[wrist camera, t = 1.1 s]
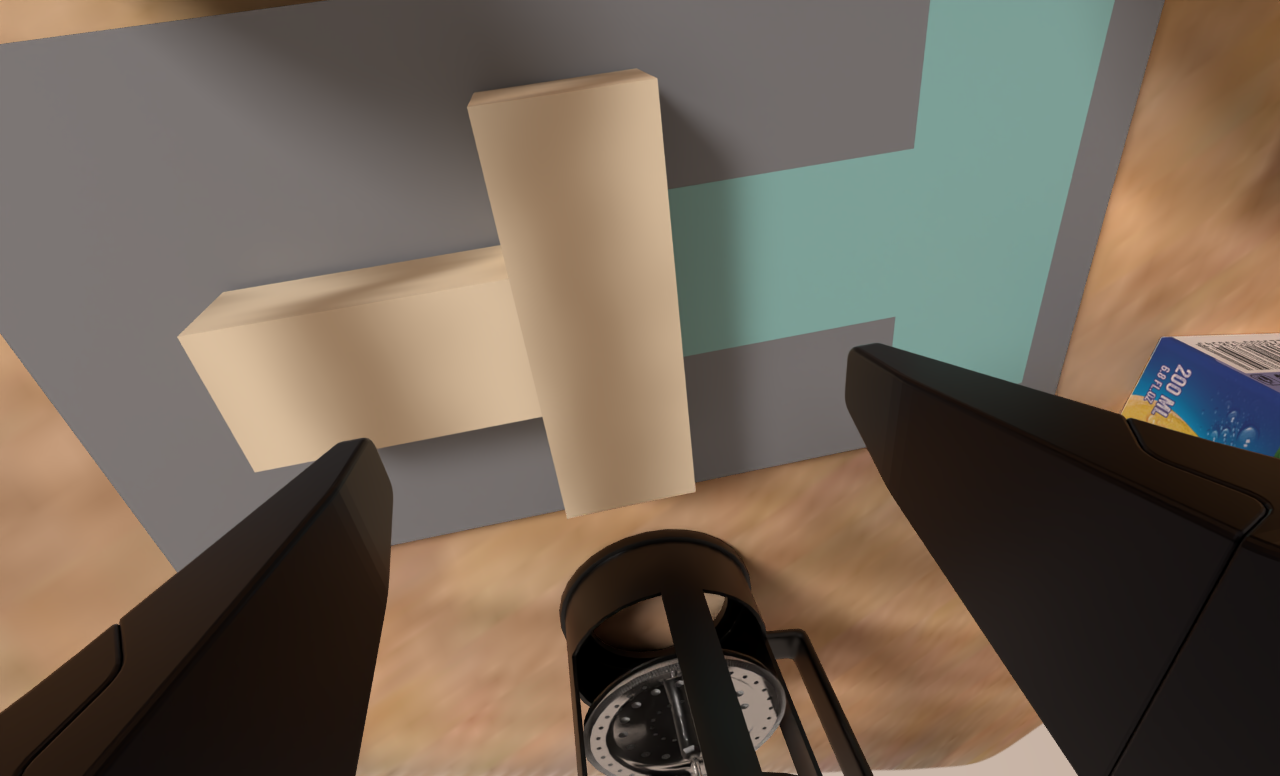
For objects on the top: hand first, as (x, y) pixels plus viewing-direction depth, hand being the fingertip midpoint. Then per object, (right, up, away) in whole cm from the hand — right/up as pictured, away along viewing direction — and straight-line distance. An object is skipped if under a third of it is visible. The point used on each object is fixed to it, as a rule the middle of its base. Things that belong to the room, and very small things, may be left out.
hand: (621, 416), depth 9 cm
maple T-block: (-5, +3, +11) cm, 13 cm away
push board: (-1, +4, +13) cm, 13 cm away
